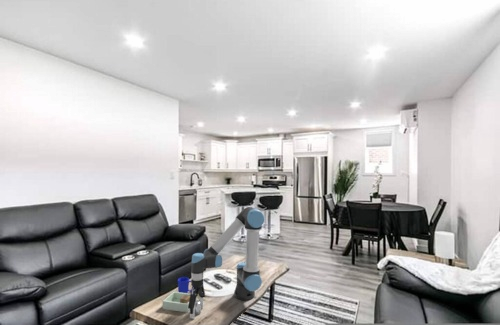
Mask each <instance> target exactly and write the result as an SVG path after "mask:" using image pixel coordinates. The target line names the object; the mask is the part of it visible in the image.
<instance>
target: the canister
mask: <svg viewBox="0 0 500 325" xmlns="http://www.w3.org/2000/svg"><path fill="white" fill-rule="evenodd" d="M194 308H195V312H194V316H200V315H201V313H202V308H201V301H200V300H199V299H197V300H196V301H195V305H194Z"/></svg>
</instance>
